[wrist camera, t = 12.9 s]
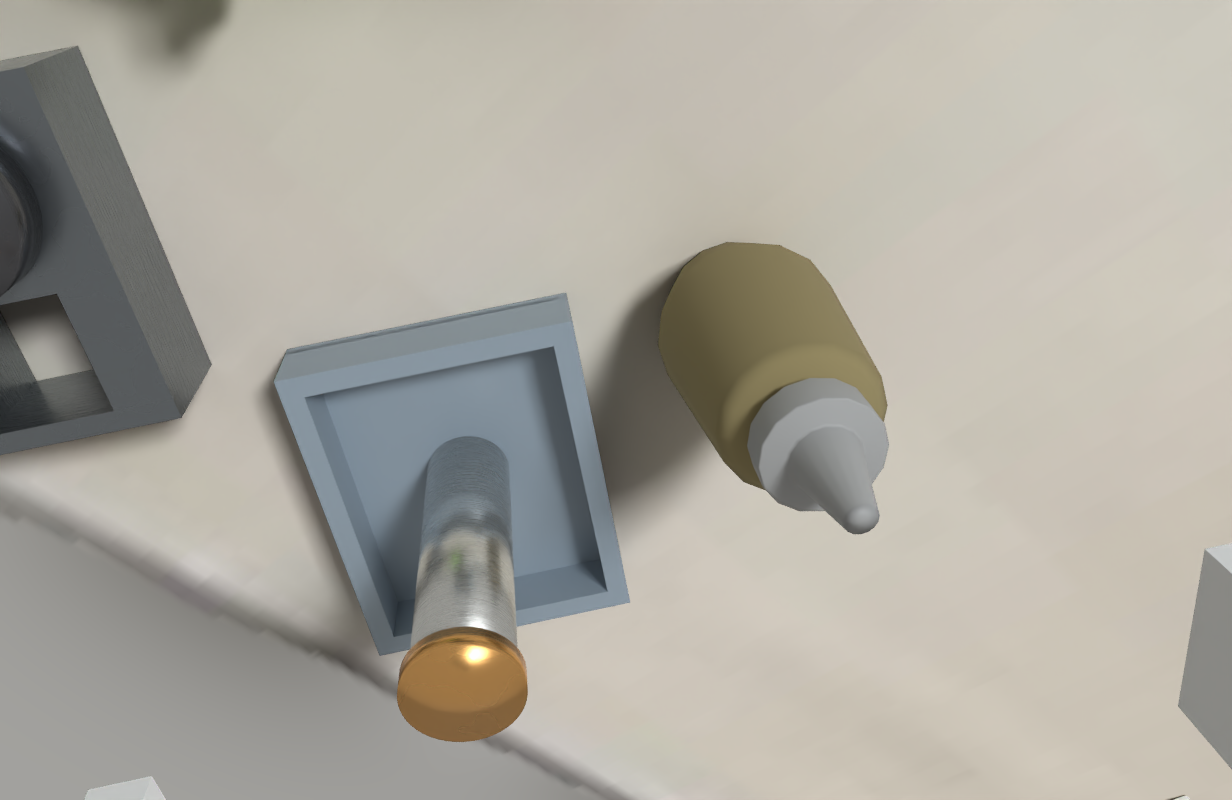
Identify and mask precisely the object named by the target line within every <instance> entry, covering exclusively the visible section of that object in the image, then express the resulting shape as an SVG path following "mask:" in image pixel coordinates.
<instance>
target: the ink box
mask: <svg viewBox="0 0 1232 800" xmlns="http://www.w3.org/2000/svg"><path fill="white" fill-rule="evenodd" d="M1173 800H1190V799H1189V798H1188V797H1187V796H1182V797H1179V798H1176V799H1173Z"/></svg>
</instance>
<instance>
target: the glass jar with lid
mask: <svg viewBox="0 0 1232 800" xmlns="http://www.w3.org/2000/svg"><path fill="white" fill-rule="evenodd" d="M527 695H528V689H527V670H526V664H525V660H524V658H523V656H522V654H521V652H520V651H519V649H518V648H517V630H516V607H515V585H514V562H513V539H512V517H511V494H510V472H509V463H508V460H507V458H506V456H505V454H504V453H503V451H502V450H501V449H500V448H499V447H498V446H497V445H495V444H494V443H492V442H491V441H489V440H486V439H483V438H480V437H475V436H463V437H457V438H454V439H451V440H449V441H447V442H445V443H443V444H442V445H441V446H439V447H438V448H437V449H436V450H435V452H434V453H433V454H432V456H431V458H430V460H429V464H428V470H427V481H426V491H425V501H424V512H423V522H422V532H421V543H420V553H419V563H418V574H417V584H416V594H415V605H414V615H413V626H412V636H411V646H410V650H409V651H408V652H407V654H406V656H405V657H404V659H403V661H402V663H401V667H400V672H399V681H398V691H397V701H398V706H399V709H400V711H401V713H402V715H403V716H404V718H405V719H406V721H407V722H408V723H409V724H410V725H411V726H412V727H414V728H415V729H416V730H418V731H420V732H421V733H423V734H425V735H427V736H430V737H433V738H436V739H439V740H444V741H452V742H467V741H475V740H480V739H483V738H487V737H489V736H492V735H494V734H497V733H499V732H501V731H502V730H504V729H505V728H507V727H508V726H509V725H511V724H512V723H513V722H514V721H515V720H516V719H517V718H518V716H519V715H520V714H521V712H522V710H523V709H524V707H525V704H526V701H527Z"/></svg>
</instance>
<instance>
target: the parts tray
mask: <svg viewBox="0 0 1232 800" xmlns="http://www.w3.org/2000/svg"><path fill="white" fill-rule="evenodd" d="M274 384H275V387H276V389H277V392H278V394H279V397H280V400H281V402H282V405H283V407H284V410H285V413H286V415H287V418H288V420H289V423H290V425H291V428H292V431H293V433H294V436H295V438H296V441H297V443H298V446H299V449H300V451H301V454H302V456H303V459H304V462H305V464H306V467H307V469H308V472H309V474H310V477H311V480H312V482H313V485H314V487H315V490H316V493H317V495H318V498H319V500H320V503H321V505H322V508H323V511H324V513H325V516H326V518H327V521H328V524H329V526H330V529H331V531H332V534H333V536H334V539H335V542H336V544H337V547H338V549H339V552H340V554H341V557H342V560H343V562H344V565H345V567H346V570H347V573H348V575H349V578H350V580H351V583H352V585H353V588H354V591H355V593H356V596H357V598H358V601H359V604H360V606H361V609H362V611H363V614H364V616H365V619H366V622H367V624H368V627H369V629H370V632H371V635H372V637H373V640H374V642H375V645H376V647H377V650H378V653H379V655H380V656H381V655H386V654H390V653H395V652H400V651H404V650H409V649H410V646H411V636H412V626H413V615H414V605H415V594H416V584H417V574H418V563H419V553H420V543H421V532H422V522H423V512H424V501H425V491H426V481H427V470H428V464H429V460H430V458H431V456H432V454H433V453H434V452H435V450H436V449H437V448H438V447H439V446H441V445H442V444H443V443H445V442H447V441H449V440H451V439H454V438H457V437H463V436H475V437H480V438H483V439H486V440H489V441H491V442H492V443H494V444H495V445H497V446H498V447H499V448H500V449H501V450H502V451H503V453H504V454H505V456H506V458H507V460H508V463H509V472H510V494H511V517H512V539H513V562H514V585H515V607H516V627H517V626H522V625H526V624H531V623H536V622H540V621H545V620H550V619H555V618H559V617H564V616H569V615H573V614H578V613H583V612H587V611H592V610H597V609H601V608H606V607H611V606H616V605H620V604H625V603H630V599H629V594H628V589H627V585H626V580H625V575H624V570H623V565H622V560H621V556H620V551H619V546H618V541H617V536H616V531H615V527H614V522H613V517H612V512H611V507H610V502H609V497H608V493H607V488H606V483H605V478H604V473H603V468H602V464H601V459H600V454H599V449H598V444H597V439H596V434H595V430H594V425H593V420H592V415H591V410H590V405H589V401H588V396H587V391H586V386H585V381H584V376H583V372H582V367H581V362H580V357H579V352H578V347H577V342H576V338H575V333H574V328H573V323H572V318H571V313H570V309H569V304H568V299H567V294H566V293H562V294H557V295H552V296H548V297H543V298H538V299H533V300H528V301H523V302H518V303H513V304H508V305H503V306H498V307H493V308H488V309H484V310H479V311H474V312H469V313H464V314H459V315H454V316H449V317H444V318H439V319H434V320H429V321H425V322H420V323H415V324H410V325H405V326H400V327H395V328H390V329H385V330H380V331H375V332H370V333H365V334H361V335H356V336H351V337H346V338H341V339H336V340H331V341H326V342H321V343H316V344H311V345H306V346H301V347H297V348H292V349H287V352H286V354H285V356H284V359H283V361H282V363H281V366H280V368H279V371H278V373H277V375H276V378H275V380H274Z"/></svg>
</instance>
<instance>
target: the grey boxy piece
mask: <svg viewBox="0 0 1232 800" xmlns="http://www.w3.org/2000/svg"><path fill="white" fill-rule="evenodd" d="M53 294H57V295H58V297H59V299H60V301H61V303H62V305H63V307H64V309H65V311H66V314H67V316H68V318H69V320H70V322H71V324H72V326H73V328H74V330H75V332H76V334H77V336H78V338H79V340H80V342H81V344H82V346H83V348H84V350H85V352H86V354H87V357H88V359H89V361H90V363H91V365H92V367H93V369H94V370H90V371H85V372H80V373H75V374H70V375H65V376H60V377H55V378H50V379H45V380H40V381H36V379H35V377H34V375H33V374H32V372H31V370H30V368H29V366H28V364H27V362H26V360H25V358H24V356H23V355H22V353H21V351H20V349H19V347H18V345H17V343H16V341H15V339H14V337H13V335H12V334H11V332H10V330H9V328H8V326H7V324H6V322H5V320H4V318H3V316H2V315H1V313H0V455H3V454H7V453H12V452H17V451H22V450H27V449H32V448H37V447H42V446H47V445H51V444H56V443H61V442H66V441H71V440H76V439H81V438H86V437H91V436H95V435H100V434H105V433H110V432H115V431H120V430H125V429H130V428H134V427H139V426H144V425H149V424H154V423H159V422H164V421H169V420H174V419H178V418H182V416H183V414H184V412H185V411H186V409H187V407H188V405H189V404H190V402H191V400H192V398H193V397H194V395H195V393H196V391H197V390H198V388H199V386H200V384H201V382H202V381H203V379H204V377H205V375H206V374H207V372H208V370H209V368H210V367H211V362H210V360H209V357H208V355H207V353H206V350H205V348H204V346H203V343H202V341H201V338H200V336H199V334H198V331H197V329H196V326H195V324H194V322H193V319H192V317H191V315H190V312H189V310H188V307H187V305H186V303H185V300H184V298H183V295H182V293H181V291H180V288H179V286H178V284H177V281H176V279H175V276H174V274H173V272H172V269H171V267H170V264H169V262H168V260H167V257H166V255H165V253H164V250H163V248H162V245H161V243H160V241H159V238H158V236H157V233H156V231H155V229H154V226H153V224H152V222H151V219H150V217H149V214H148V212H147V210H146V207H145V205H144V202H143V200H142V198H141V195H140V193H139V191H138V188H137V186H136V183H135V181H134V179H133V176H132V174H131V171H130V169H129V167H128V164H127V162H126V160H125V157H124V155H123V152H122V150H121V148H120V145H119V143H118V140H117V138H116V136H115V133H114V131H113V129H112V126H111V124H110V121H109V119H108V117H107V114H106V112H105V109H104V107H103V105H102V102H101V100H100V98H99V95H98V93H97V90H96V88H95V86H94V83H93V81H92V78H91V76H90V74H89V71H88V69H87V66H86V64H85V62H84V59H83V57H82V55H81V52H80V50H79V47H78V46H75V47H69V48H64V49H59V50H54V51H49V52H43V53H38V54H33V55H28V56H23V57H17V58H12V59H7V60H2V61H0V305H3V304H8V303H13V302H18V301H23V300H28V299H33V298H38V297H43V296H48V295H53Z"/></svg>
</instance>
